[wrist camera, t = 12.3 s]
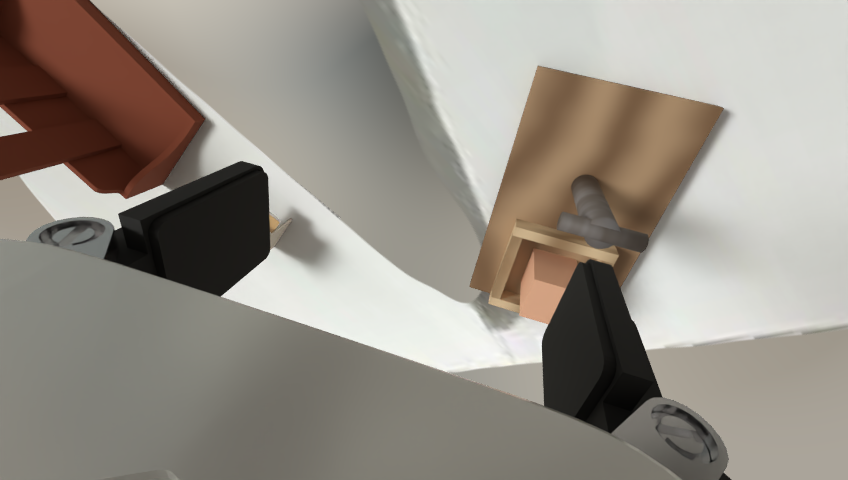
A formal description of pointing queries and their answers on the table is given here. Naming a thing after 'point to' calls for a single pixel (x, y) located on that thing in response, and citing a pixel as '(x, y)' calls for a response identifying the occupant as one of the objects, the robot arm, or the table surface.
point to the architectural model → (275, 223)
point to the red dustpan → (86, 99)
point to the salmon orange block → (544, 284)
